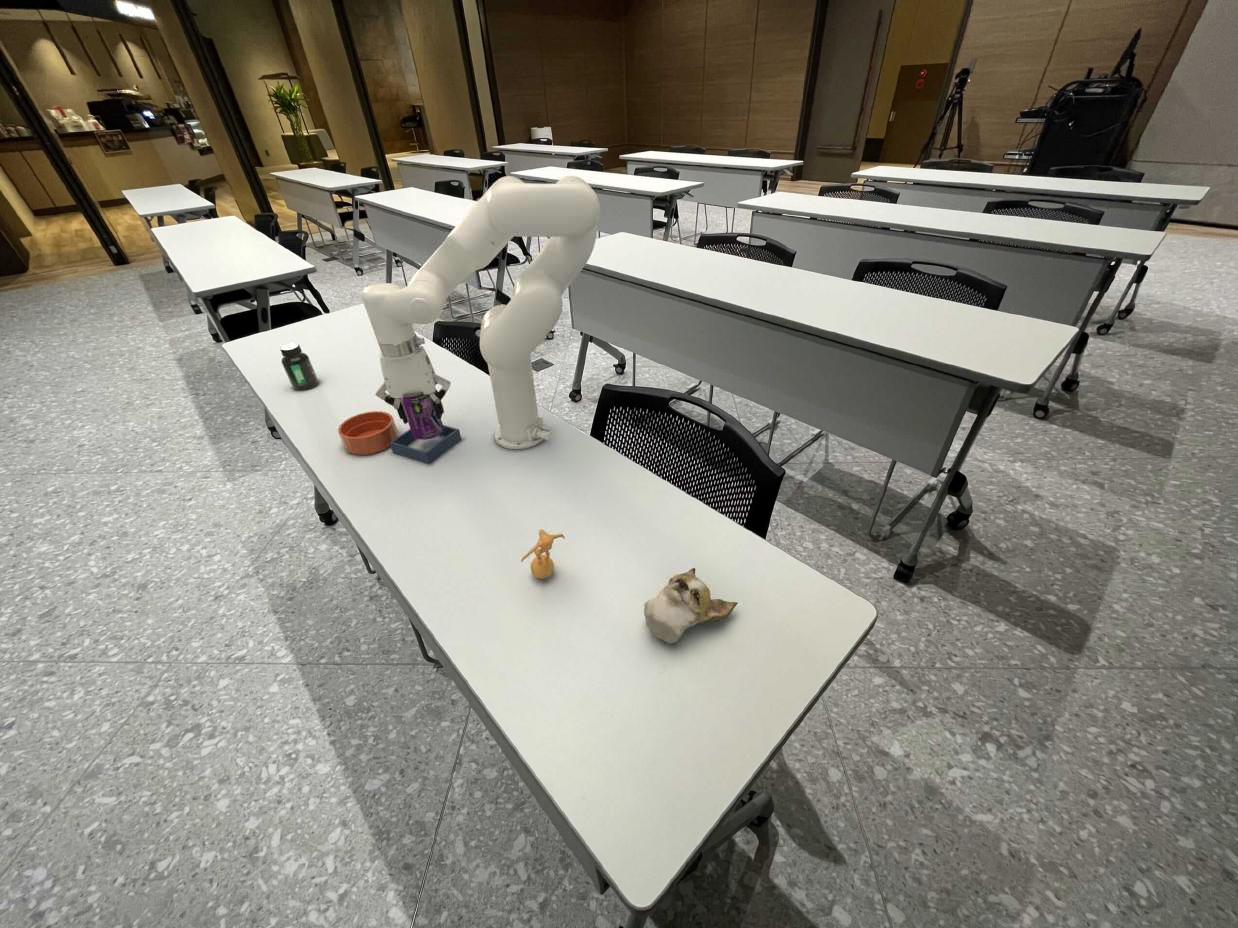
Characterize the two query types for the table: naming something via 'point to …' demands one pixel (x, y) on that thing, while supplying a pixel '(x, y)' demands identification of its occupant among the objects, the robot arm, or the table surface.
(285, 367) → the supplement bottle
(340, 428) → the bowl
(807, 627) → the table surface
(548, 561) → the figurine
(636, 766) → the table surface
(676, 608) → the ceramic sculpture
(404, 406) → the beverage can
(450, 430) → the blue square frame
